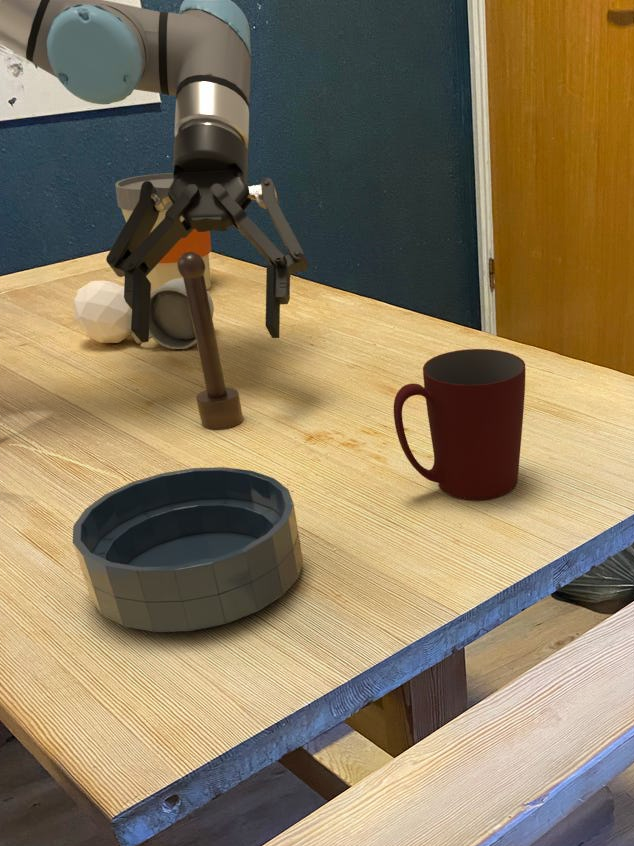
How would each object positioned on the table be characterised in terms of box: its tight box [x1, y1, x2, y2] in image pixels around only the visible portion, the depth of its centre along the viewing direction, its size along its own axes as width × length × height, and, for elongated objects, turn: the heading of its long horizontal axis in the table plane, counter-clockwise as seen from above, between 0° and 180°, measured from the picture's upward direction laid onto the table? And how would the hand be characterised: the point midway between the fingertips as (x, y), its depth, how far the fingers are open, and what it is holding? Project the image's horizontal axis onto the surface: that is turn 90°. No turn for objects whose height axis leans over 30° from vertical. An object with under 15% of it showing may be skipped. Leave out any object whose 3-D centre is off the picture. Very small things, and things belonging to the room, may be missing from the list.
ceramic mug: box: [130, 278, 215, 350], centre depth 121 cm, size 11×8×8 cm
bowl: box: [72, 466, 304, 633], centre depth 73 cm, size 16×16×6 cm
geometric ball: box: [73, 280, 132, 344], centre depth 121 cm, size 8×8×8 cm
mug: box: [393, 348, 526, 501], centre depth 83 cm, size 12×9×11 cm
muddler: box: [178, 252, 244, 430], centre depth 95 cm, size 4×4×17 cm
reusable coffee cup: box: [114, 172, 212, 293], centre depth 138 cm, size 13×13×15 cm
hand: (206, 334), depth 95 cm, fingers open, 13 cm apart
